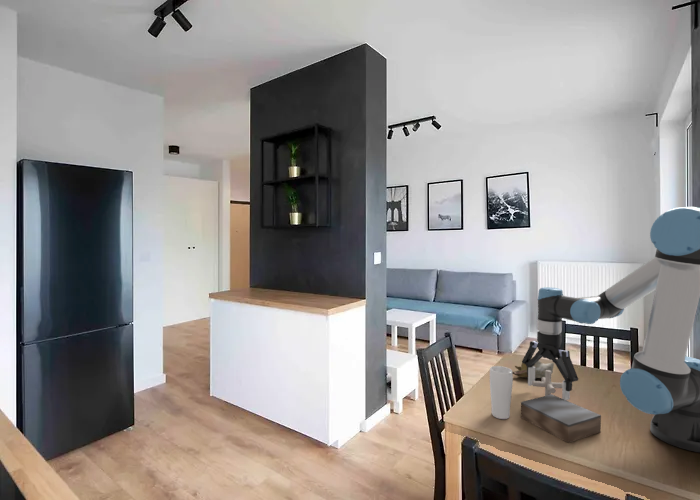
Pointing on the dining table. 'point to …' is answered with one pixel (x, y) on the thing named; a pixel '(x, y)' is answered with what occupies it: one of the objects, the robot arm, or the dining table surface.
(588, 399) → the dining table surface
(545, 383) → the pipe connector
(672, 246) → the robot arm
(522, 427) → the dining table surface
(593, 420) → the block
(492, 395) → the drinking glass
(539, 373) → the ceramic sculpture
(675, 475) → the dining table surface
